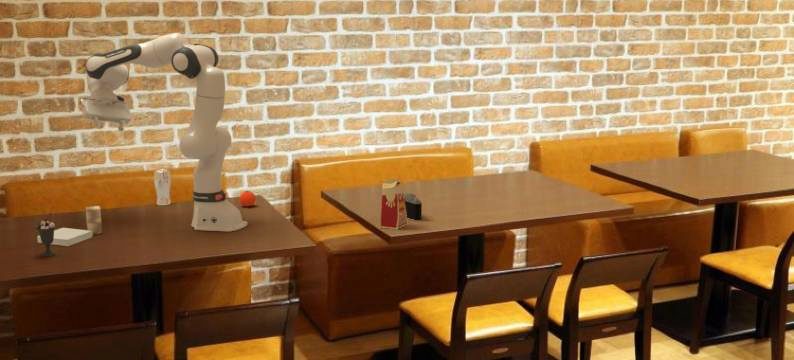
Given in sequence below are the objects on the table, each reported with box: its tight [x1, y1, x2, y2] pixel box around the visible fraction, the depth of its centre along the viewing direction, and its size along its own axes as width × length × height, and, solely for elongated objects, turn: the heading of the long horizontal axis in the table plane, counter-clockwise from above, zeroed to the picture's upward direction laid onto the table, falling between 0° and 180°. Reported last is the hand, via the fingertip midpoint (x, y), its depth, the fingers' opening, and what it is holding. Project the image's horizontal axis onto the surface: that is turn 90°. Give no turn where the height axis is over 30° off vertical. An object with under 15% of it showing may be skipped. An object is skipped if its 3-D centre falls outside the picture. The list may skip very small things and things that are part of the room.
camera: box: [403, 192, 423, 221], centre depth 395 cm, size 15×7×10 cm, turn 37°
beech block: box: [85, 205, 103, 235], centre depth 370 cm, size 5×5×10 cm
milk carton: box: [379, 177, 408, 231], centre depth 378 cm, size 9×9×20 cm
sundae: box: [35, 212, 57, 257], centre depth 340 cm, size 7×7×15 cm
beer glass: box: [153, 168, 172, 206], centre depth 419 cm, size 7×7×15 cm
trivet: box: [36, 227, 94, 247], centre depth 361 cm, size 14×14×2 cm
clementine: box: [239, 190, 257, 208], centre depth 415 cm, size 8×7×7 cm
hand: (110, 129), depth 381 cm, fingers open, 8 cm apart
